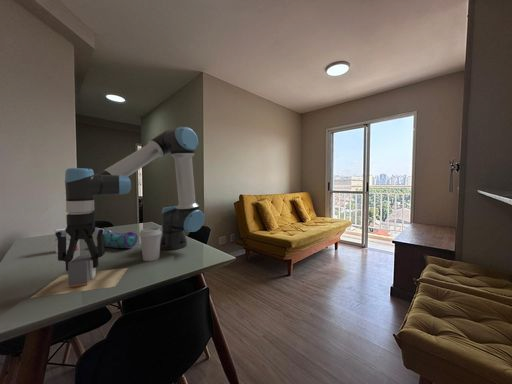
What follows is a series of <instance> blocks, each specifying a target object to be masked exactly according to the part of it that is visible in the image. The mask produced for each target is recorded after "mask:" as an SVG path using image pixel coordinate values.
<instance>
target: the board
mask: <svg viewBox="0 0 512 384" xmlns="http://www.w3.org/2000/svg"><path fill="white" fill-rule="evenodd" d="M128 269H129V267H124V268H123V267H122V268H116V269H115V268H114V269H107V270H97V271H96V276H95V277H94V278H93V279H92V280H91V281H90V282H89V283H88V284H87V285H82V286H75V287H68V274H60V276H59V277H57V278H55V279H54V280H53V281H51V282H50V283H49V284H47V285H46V286H44V287H43V288H42V289H41V290H40V289H39V291H38V292H36V293H35V294H33V295H32V296H31V297H30V299H32V298H41V297H42V298H43V297H48V296H55V295H57V296H58V295H62V294H72V293H78V292H84V291H85V292H86V291H94V290H100V289H101V290H102V289H108V288H109V289H110V288H115V287H116V285H117V284H118V283H119V281H120V280H121V279H122V277H123V276H124V275H125V273H127V271H128Z"/></svg>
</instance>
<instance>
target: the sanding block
mask: <svg viewBox="0 0 512 384" xmlns="http://www.w3.org/2000/svg"><path fill="white" fill-rule="evenodd" d="M90 259H92V257H91V254H87V255H86V254H84V255H78V256H76V257H75V258H73V259H72V261H71V262H69V263H68V271H67V275H68V287H75V286H82V285H87V284H88V283H89V282H90V281H91V280H92V279H93V278H94V277H95V276H96V275H95V276H94V277H93V278H91V279H90Z"/></svg>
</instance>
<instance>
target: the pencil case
mask: <svg viewBox="0 0 512 384" xmlns="http://www.w3.org/2000/svg"><path fill="white" fill-rule="evenodd" d="M138 237H139V235H138V234H137V233H135V232H133V231H128V232H114V231H112V230H110V229H105V232H104V247H109V248H114V249H115V248H116V249H132V248H134V247H135V245H136V244H137V243H138V240H139V238H138Z"/></svg>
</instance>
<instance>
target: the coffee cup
mask: <svg viewBox="0 0 512 384" xmlns="http://www.w3.org/2000/svg"><path fill="white" fill-rule="evenodd" d="M161 236H162V229H161V228H160V227H146V228H143V229H141V230H140V232H139V233H138V237H139V239H140V246H141V247H140V248H141V253H142V254H141V255H142V261H144V262H154V261H156V260H158V259H160V252H161V251H160V250H161V249H160V241H161Z"/></svg>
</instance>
